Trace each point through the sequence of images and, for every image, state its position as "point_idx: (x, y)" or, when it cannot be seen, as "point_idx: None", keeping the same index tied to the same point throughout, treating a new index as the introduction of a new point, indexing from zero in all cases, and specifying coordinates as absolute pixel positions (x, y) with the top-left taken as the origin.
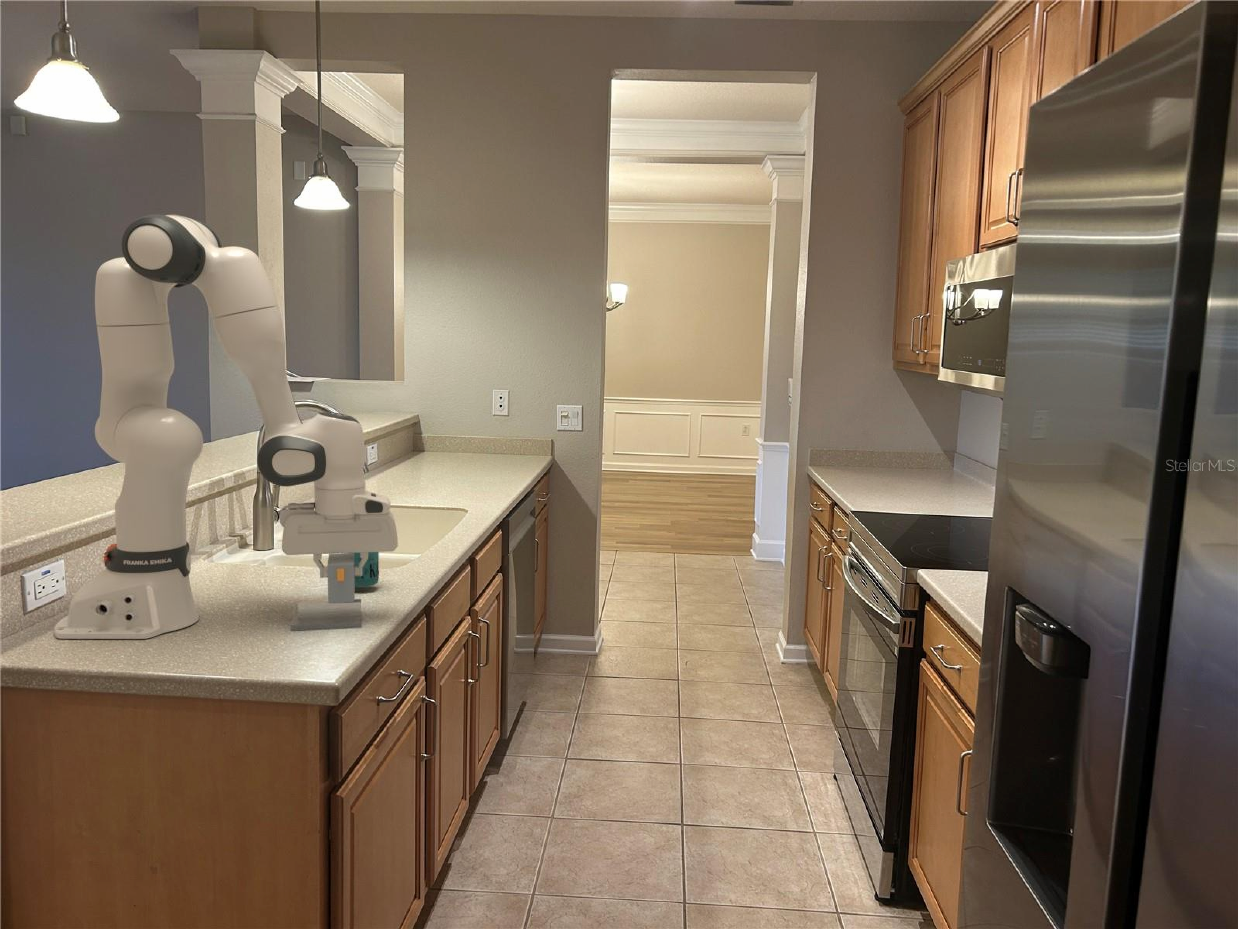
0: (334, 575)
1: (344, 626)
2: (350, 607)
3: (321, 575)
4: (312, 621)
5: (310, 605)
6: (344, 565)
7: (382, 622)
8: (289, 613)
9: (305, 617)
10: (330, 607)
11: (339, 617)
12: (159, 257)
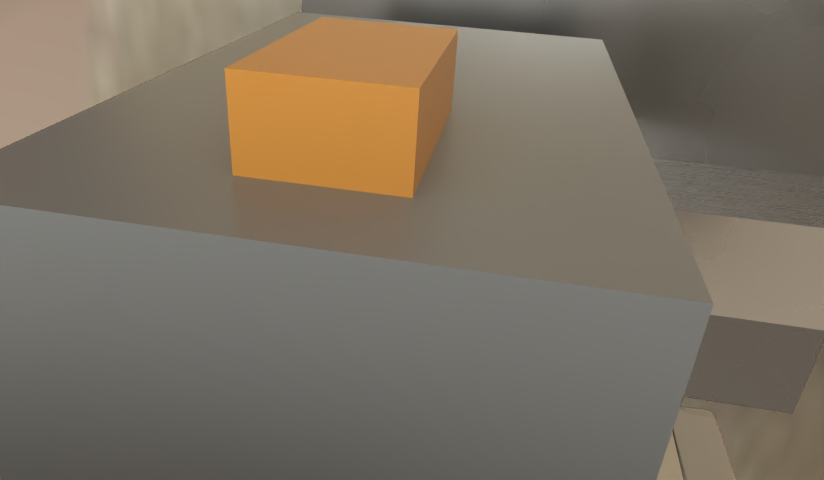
0: (500, 147)
1: None
2: None
3: (696, 421)
4: (734, 51)
5: (754, 214)
6: (180, 214)
7: (162, 19)
8: (807, 417)
9: (771, 174)
10: None
11: None
12: None
